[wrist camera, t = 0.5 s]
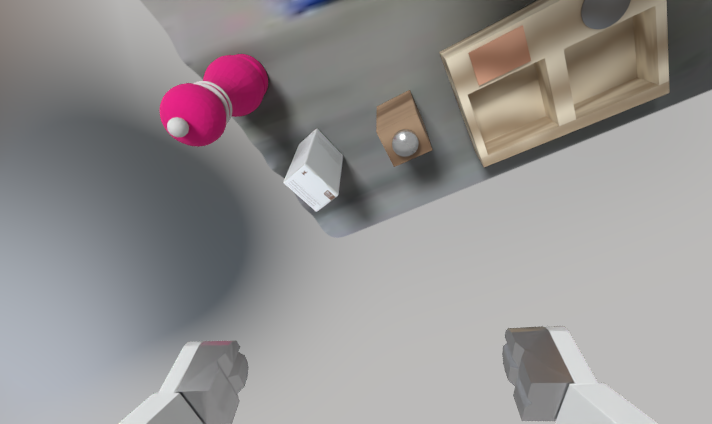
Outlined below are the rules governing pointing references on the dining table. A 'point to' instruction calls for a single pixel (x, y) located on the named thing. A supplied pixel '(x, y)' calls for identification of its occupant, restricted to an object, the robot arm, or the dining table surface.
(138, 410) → the robot arm
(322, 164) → the skincare box
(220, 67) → the pepper mill
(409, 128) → the plug
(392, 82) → the dining table surface
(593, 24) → the tag socket block
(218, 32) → the dining table surface
